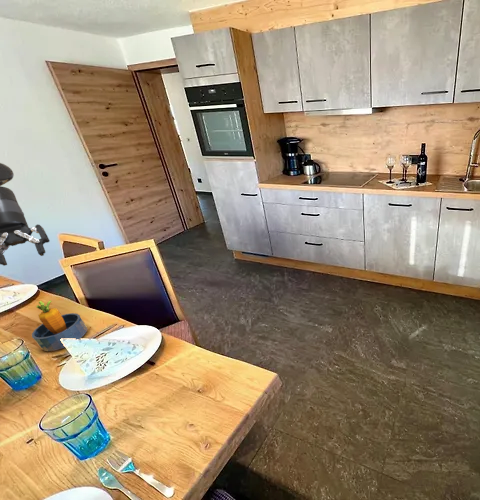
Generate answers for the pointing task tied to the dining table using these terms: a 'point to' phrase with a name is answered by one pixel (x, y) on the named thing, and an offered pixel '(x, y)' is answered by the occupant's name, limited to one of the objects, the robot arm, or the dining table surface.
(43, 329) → the bowl
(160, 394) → the dining table surface
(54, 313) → the carrot
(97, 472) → the dining table surface
